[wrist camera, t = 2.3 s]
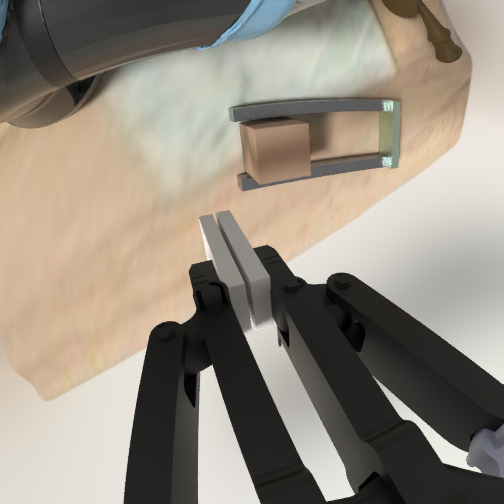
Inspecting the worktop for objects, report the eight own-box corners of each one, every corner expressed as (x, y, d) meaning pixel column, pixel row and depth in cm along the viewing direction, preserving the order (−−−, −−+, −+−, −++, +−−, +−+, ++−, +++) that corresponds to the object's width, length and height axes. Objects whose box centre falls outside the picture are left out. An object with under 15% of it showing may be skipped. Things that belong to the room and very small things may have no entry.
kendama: (426, 70, 36) (355, -26, 26) (447, 42, 34) (384, -48, 24) (454, 74, 32) (383, -35, 21) (473, 44, 30) (410, -56, 19)
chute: (228, 108, 32) (234, 109, 30) (386, 99, 37) (400, 101, 34) (238, 186, 38) (245, 194, 35) (385, 162, 42) (398, 167, 40)
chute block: (239, 123, 33) (254, 129, 28) (286, 117, 35) (308, 123, 30) (244, 170, 37) (260, 184, 32) (289, 162, 38) (311, 175, 33)
